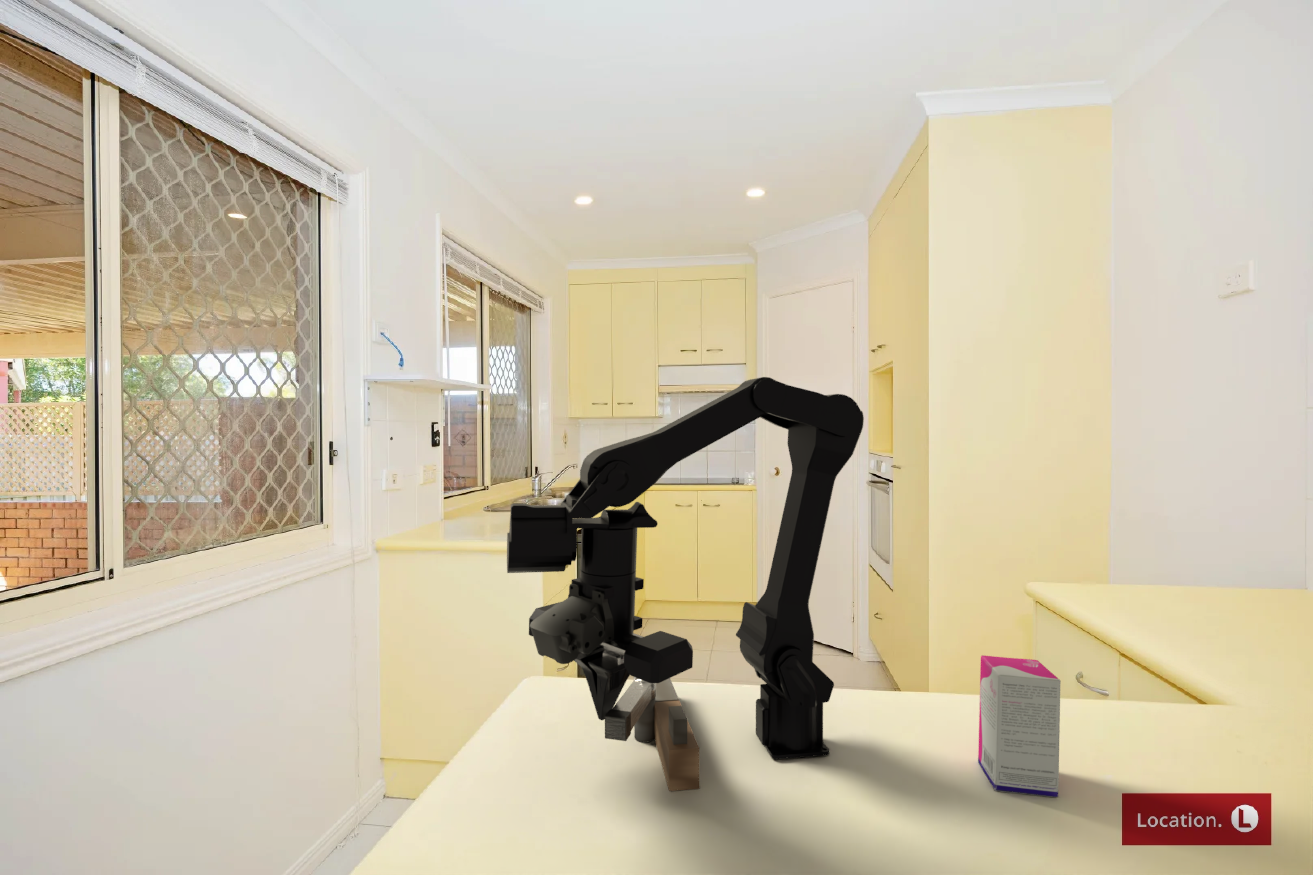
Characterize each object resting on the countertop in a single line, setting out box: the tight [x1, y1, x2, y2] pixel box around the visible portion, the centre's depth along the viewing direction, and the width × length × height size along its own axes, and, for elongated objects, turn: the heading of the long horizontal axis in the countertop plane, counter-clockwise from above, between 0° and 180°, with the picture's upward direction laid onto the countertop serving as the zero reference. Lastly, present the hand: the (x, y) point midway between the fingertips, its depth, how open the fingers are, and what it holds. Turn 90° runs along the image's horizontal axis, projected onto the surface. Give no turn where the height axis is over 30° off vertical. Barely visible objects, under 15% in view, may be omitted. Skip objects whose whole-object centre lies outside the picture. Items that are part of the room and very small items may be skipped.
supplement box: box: [977, 654, 1061, 798], centre depth 63 cm, size 6×6×12 cm
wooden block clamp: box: [633, 678, 700, 792], centre depth 72 cm, size 5×22×6 cm, turn 8°
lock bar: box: [604, 677, 656, 742], centre depth 67 cm, size 12×3×3 cm, turn 165°
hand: (603, 718), depth 65 cm, fingers closed
